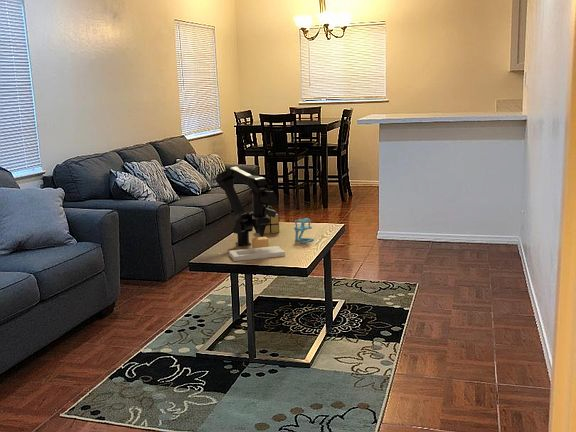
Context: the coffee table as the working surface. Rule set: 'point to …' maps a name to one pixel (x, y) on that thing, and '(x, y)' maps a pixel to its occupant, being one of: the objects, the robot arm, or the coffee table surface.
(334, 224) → the coffee table surface
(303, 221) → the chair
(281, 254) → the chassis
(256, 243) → the beige block
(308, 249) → the coffee table surface
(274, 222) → the puzzle cube
